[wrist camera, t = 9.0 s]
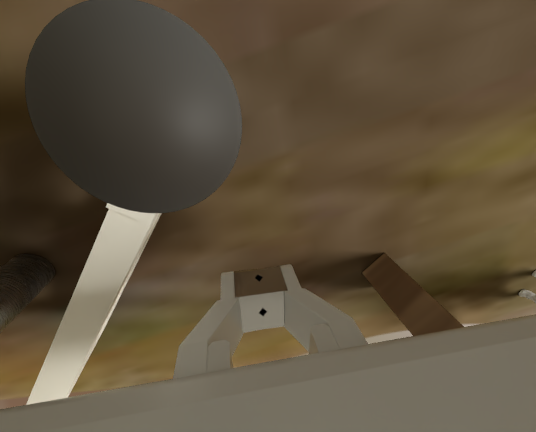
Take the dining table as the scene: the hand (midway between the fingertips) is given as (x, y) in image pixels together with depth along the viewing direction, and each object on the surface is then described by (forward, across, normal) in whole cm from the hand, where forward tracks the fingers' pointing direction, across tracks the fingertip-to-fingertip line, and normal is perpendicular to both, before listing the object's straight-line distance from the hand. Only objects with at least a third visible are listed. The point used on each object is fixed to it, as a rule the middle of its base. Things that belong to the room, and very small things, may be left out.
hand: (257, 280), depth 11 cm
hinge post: (+6, +2, -7) cm, 9 cm away
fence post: (+6, -11, +6) cm, 14 cm away
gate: (+5, +7, 0) cm, 8 cm away
